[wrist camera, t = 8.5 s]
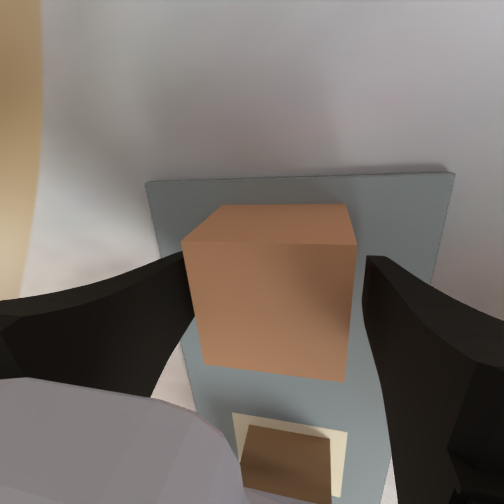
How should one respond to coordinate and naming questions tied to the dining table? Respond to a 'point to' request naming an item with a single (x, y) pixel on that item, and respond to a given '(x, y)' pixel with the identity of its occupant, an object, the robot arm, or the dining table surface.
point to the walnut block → (287, 464)
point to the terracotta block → (274, 287)
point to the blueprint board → (359, 352)
